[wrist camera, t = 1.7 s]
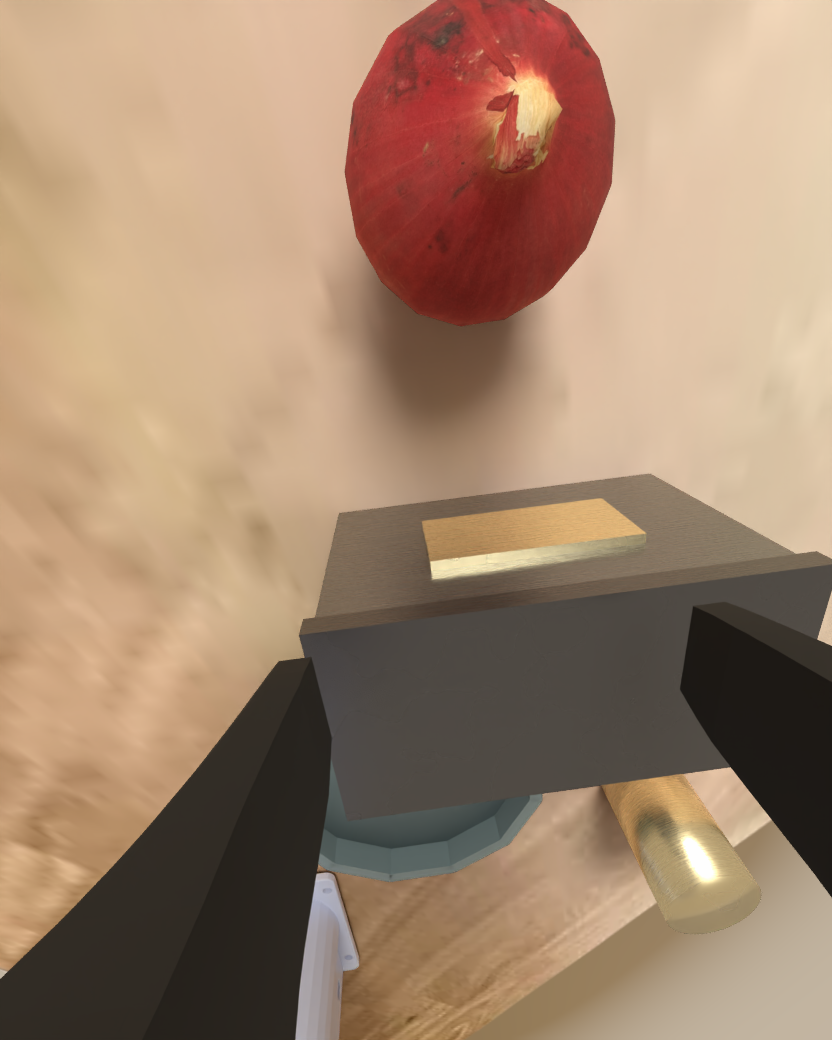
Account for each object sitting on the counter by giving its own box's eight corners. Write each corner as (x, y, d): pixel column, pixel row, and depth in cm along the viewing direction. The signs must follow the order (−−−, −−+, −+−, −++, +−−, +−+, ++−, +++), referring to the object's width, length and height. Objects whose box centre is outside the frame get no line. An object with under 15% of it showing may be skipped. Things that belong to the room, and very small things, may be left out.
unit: (641, 608, 20) (781, 759, 13) (359, 645, 20) (347, 821, 13) (656, 465, 17) (841, 559, 10) (332, 506, 17) (298, 631, 10)
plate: (529, 816, 25) (542, 860, 23) (307, 848, 25) (300, 894, 23) (526, 636, 20) (542, 671, 18) (250, 673, 20) (235, 712, 18)
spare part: (670, 794, 25) (751, 926, 20) (599, 804, 25) (660, 940, 19) (679, 742, 23) (770, 869, 18) (603, 753, 23) (670, 884, 18)
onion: (316, 170, 13) (231, -31, 6) (495, 48, 12) (665, -368, 5) (415, 357, 15) (446, 386, 8) (573, 263, 14) (770, 196, 7)
